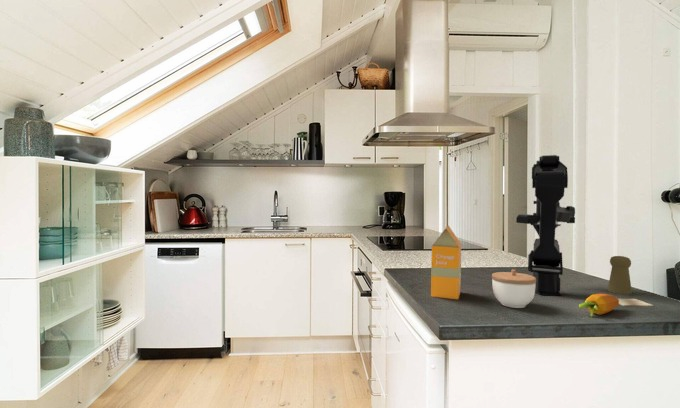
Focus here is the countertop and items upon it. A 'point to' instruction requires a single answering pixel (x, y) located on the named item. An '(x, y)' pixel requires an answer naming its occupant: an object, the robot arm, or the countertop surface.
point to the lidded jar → (513, 288)
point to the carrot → (600, 303)
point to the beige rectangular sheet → (632, 302)
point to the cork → (620, 275)
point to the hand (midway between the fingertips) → (545, 244)
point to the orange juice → (446, 266)
